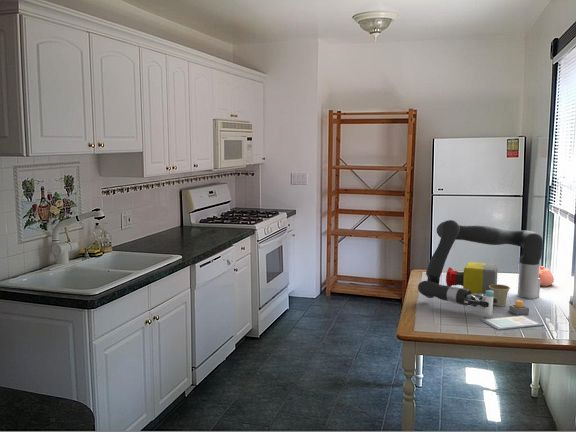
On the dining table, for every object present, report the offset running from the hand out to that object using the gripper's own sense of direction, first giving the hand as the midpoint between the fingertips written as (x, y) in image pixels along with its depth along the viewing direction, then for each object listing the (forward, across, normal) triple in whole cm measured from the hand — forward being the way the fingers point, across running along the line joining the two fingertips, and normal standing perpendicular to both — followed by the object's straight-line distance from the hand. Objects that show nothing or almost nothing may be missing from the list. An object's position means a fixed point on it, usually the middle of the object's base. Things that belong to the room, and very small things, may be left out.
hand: (492, 302), depth 244 cm
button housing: (+6, +16, +7) cm, 18 cm away
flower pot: (-7, +22, +7) cm, 24 cm away
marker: (-2, 0, +7) cm, 7 cm away
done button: (+6, +16, +6) cm, 17 cm away
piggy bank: (-5, +72, +7) cm, 72 cm away
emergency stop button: (-25, +30, +7) cm, 40 cm away
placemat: (+9, -1, +7) cm, 11 cm away
